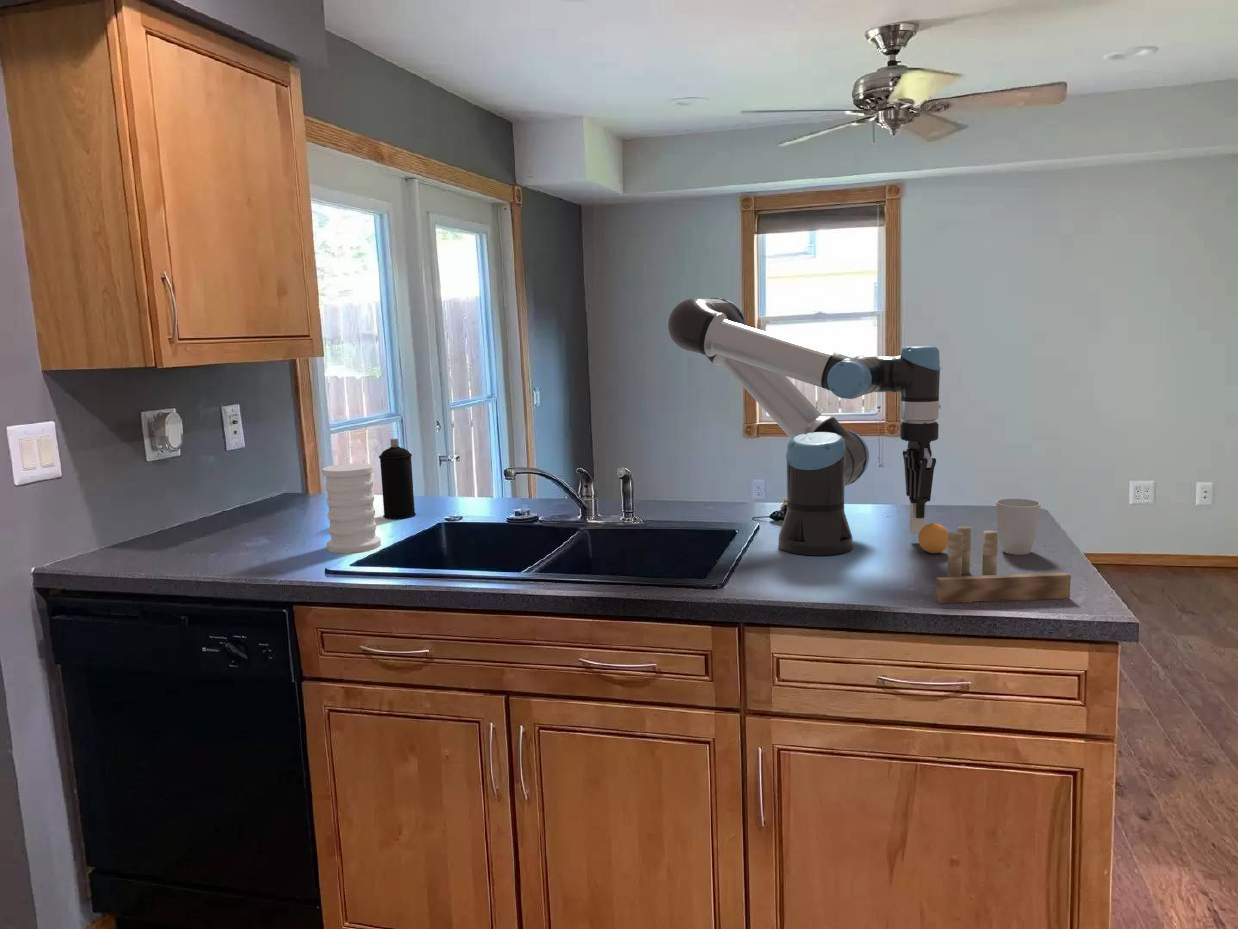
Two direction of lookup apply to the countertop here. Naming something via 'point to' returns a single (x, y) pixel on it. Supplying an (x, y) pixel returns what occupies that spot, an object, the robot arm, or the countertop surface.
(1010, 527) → the cup
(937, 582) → the back wall
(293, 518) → the countertop surface
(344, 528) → the decorative container
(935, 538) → the ball
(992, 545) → the rear pin left
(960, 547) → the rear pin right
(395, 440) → the aerosol can
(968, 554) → the front pin
